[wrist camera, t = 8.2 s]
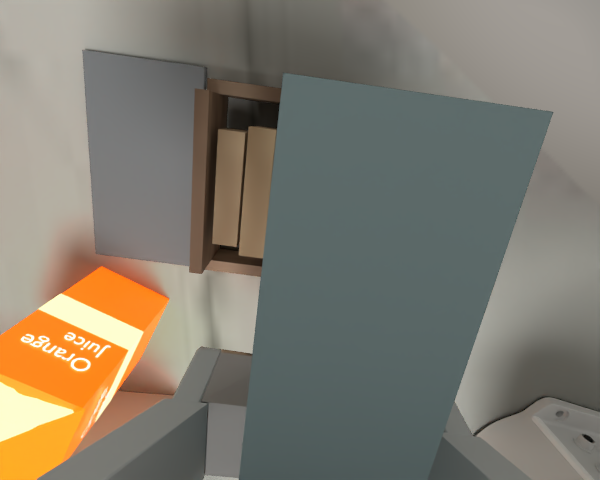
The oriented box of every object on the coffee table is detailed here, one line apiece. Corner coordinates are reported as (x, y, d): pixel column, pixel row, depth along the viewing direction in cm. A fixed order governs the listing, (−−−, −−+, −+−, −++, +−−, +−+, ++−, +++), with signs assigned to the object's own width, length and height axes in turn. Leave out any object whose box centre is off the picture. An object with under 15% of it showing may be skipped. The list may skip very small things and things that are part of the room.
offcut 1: (256, 131, 30) (245, 132, 25) (247, 227, 33) (236, 246, 28) (233, 128, 30) (218, 129, 25) (227, 225, 33) (212, 243, 28)
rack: (356, 102, 29) (367, 96, 24) (326, 272, 34) (330, 301, 29) (217, 82, 29) (195, 72, 23) (208, 256, 34) (188, 283, 28)
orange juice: (74, 329, 37) (-168, 542, 18) (100, 264, 35) (-150, 433, 16) (141, 360, 38) (-22, 590, 19) (171, 299, 36) (17, 496, 17)
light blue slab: (358, 126, 16) (553, 111, 3) (318, 349, 19) (335, 747, 7) (304, 118, 15) (283, 73, 3) (274, 343, 19) (211, 734, 7)
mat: (206, 68, 29) (204, 67, 28) (199, 264, 34) (197, 267, 34) (86, 51, 28) (82, 49, 28) (99, 251, 34) (95, 254, 34)
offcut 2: (282, 129, 30) (276, 129, 24) (270, 235, 33) (262, 258, 28) (259, 125, 30) (248, 126, 24) (250, 233, 33) (238, 255, 28)
